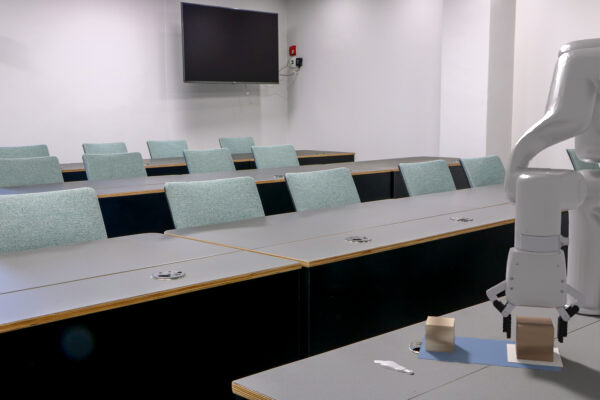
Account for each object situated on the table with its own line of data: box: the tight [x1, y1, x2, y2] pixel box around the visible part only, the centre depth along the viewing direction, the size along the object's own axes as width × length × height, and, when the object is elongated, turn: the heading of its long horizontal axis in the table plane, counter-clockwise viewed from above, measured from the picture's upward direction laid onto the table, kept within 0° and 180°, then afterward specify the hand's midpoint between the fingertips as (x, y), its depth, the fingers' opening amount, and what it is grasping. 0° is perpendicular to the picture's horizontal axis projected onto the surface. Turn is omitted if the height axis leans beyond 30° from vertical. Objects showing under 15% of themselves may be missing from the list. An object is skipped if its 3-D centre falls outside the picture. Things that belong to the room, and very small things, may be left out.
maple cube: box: [424, 315, 456, 353], centre depth 117 cm, size 5×5×5 cm
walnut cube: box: [515, 315, 555, 362], centre depth 113 cm, size 6×6×6 cm
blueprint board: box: [417, 334, 564, 372], centre depth 115 cm, size 24×13×1 cm, turn 73°
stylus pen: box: [373, 359, 414, 375], centre depth 111 cm, size 15×3×2 cm, turn 43°
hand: (534, 337), depth 112 cm, fingers open, 8 cm apart
